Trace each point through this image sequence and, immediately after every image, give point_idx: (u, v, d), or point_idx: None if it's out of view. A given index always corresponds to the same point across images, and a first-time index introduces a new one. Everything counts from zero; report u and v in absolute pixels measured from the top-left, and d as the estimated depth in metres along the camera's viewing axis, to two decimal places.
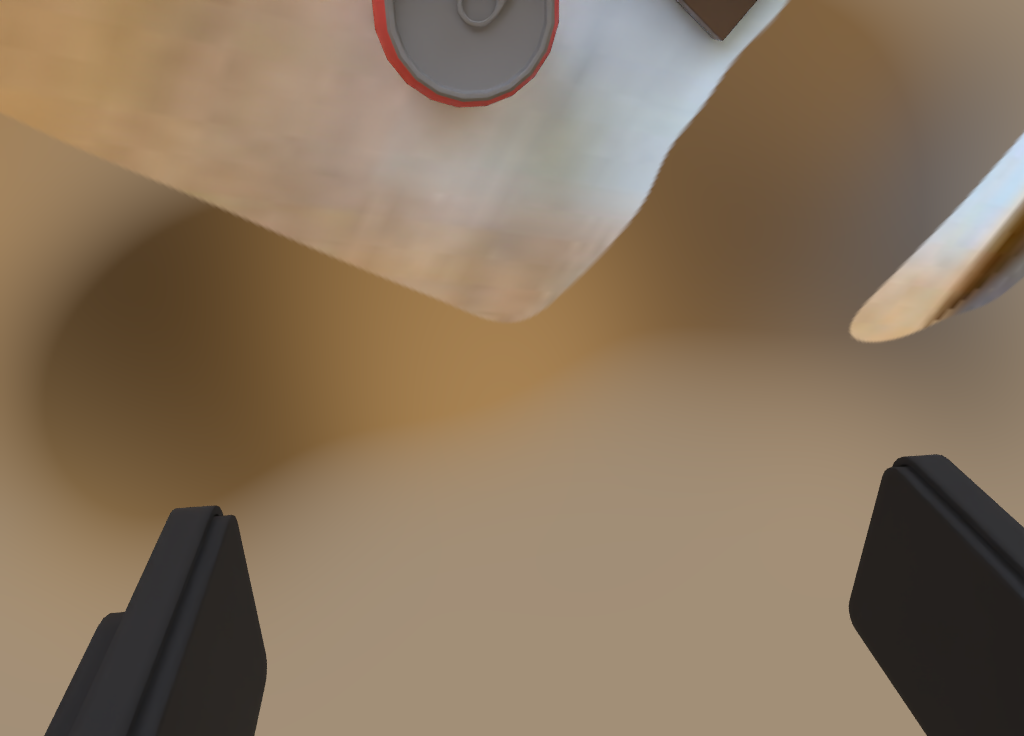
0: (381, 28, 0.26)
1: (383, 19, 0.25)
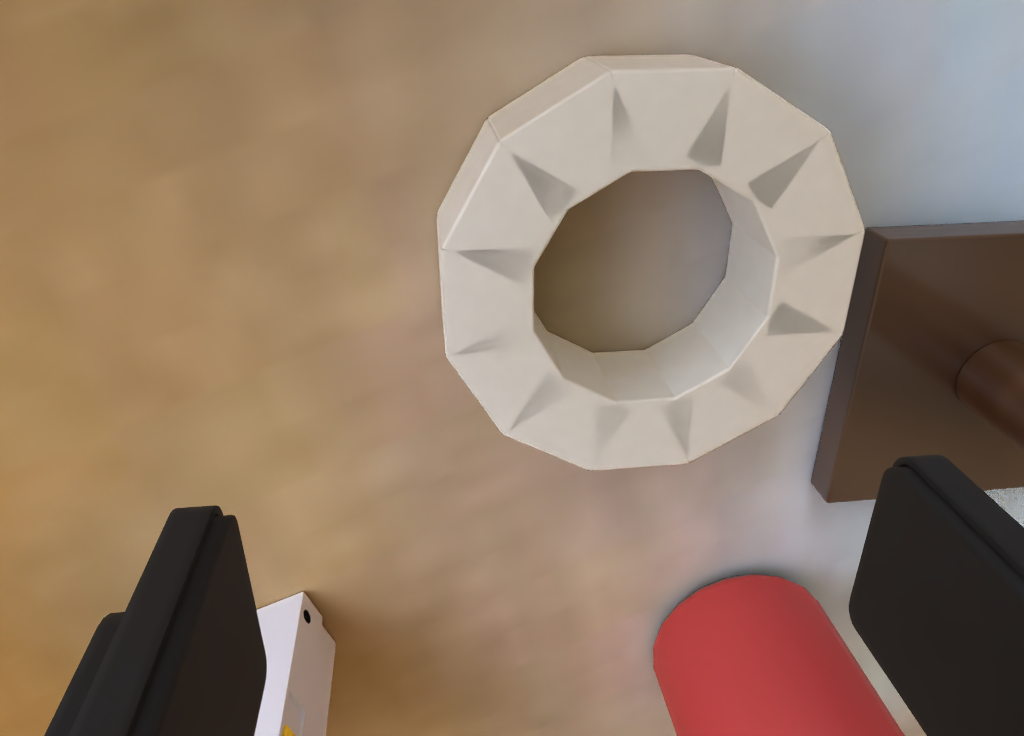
0: None
1: None
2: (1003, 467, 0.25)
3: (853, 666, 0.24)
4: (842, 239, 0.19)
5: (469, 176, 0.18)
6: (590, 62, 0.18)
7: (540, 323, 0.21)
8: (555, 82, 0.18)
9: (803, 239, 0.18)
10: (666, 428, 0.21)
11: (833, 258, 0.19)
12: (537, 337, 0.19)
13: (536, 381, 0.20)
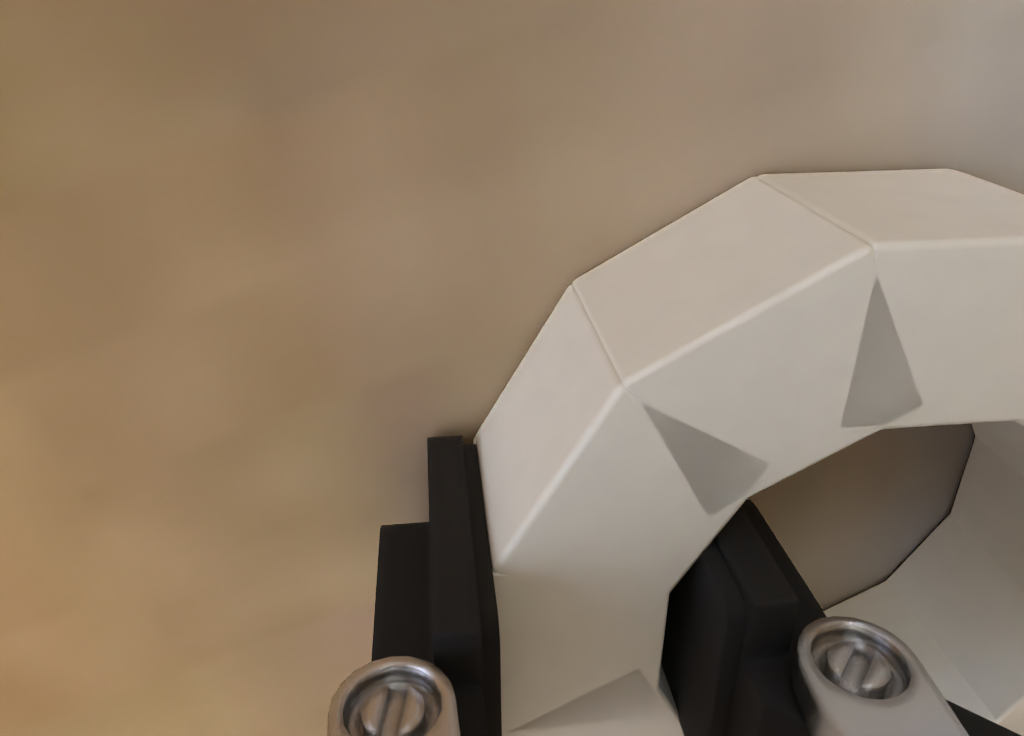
0: None
1: None
2: None
3: None
4: None
5: (544, 416, 0.09)
6: (786, 198, 0.09)
7: None
8: (711, 232, 0.09)
9: None
10: None
11: None
12: (664, 697, 0.10)
13: None
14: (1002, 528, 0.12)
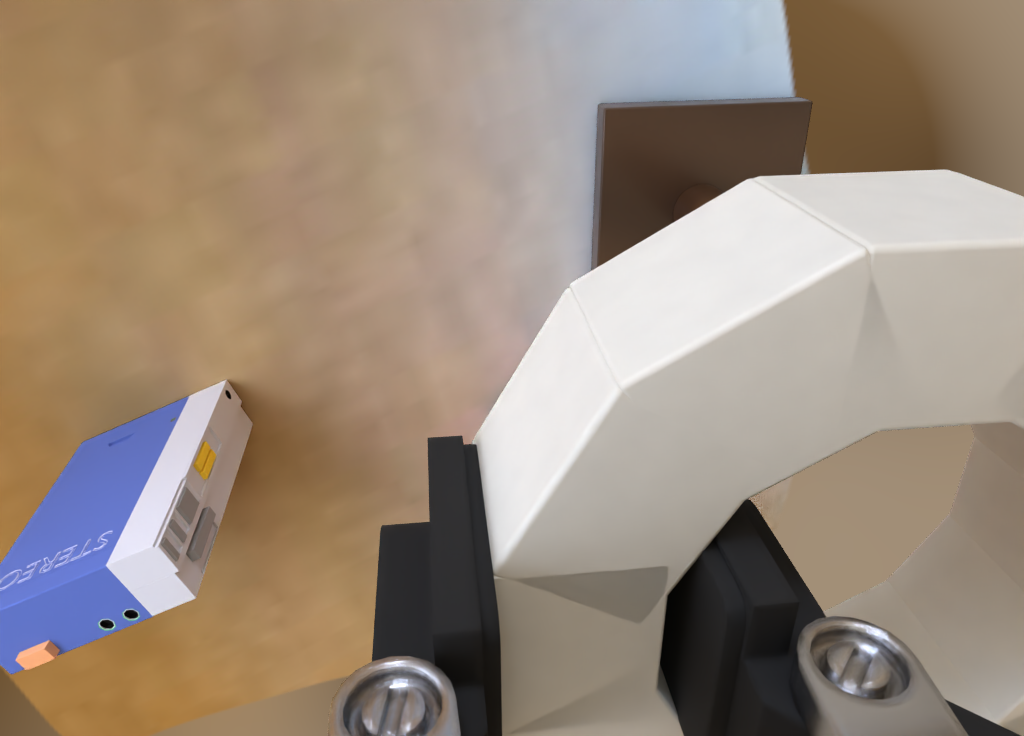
0: None
1: None
2: None
3: None
4: None
5: (542, 419, 0.09)
6: (783, 200, 0.09)
7: None
8: (709, 235, 0.09)
9: None
10: None
11: None
12: (663, 698, 0.10)
13: None
14: (1001, 528, 0.12)
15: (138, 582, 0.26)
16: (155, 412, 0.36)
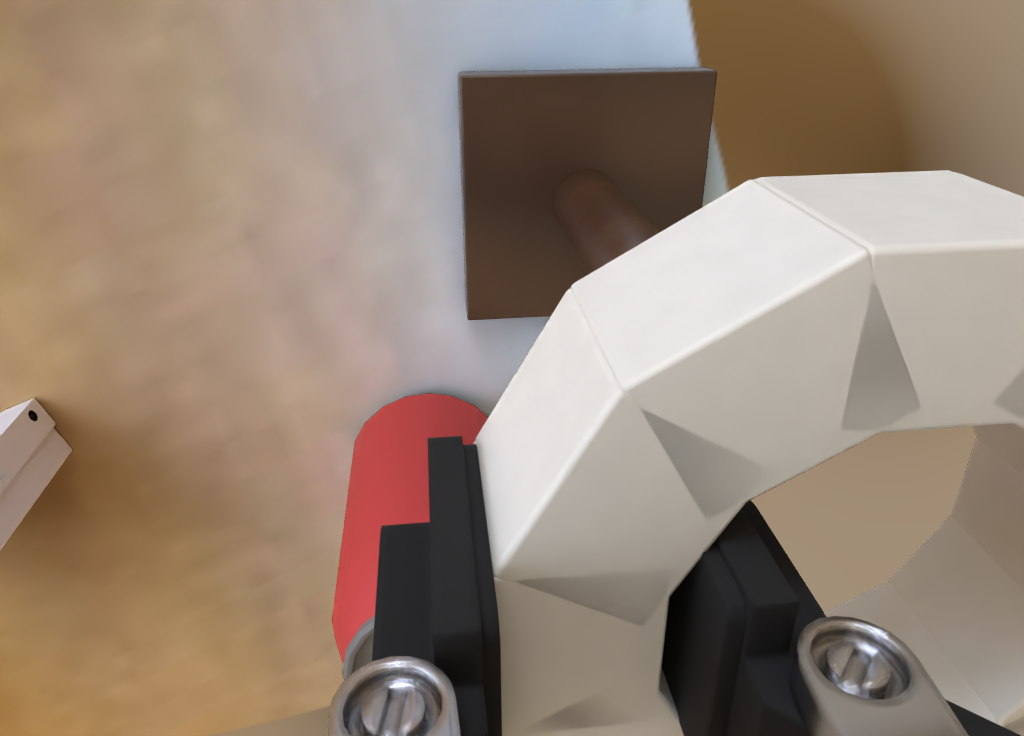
0: None
1: None
2: None
3: None
4: None
5: (544, 421, 0.09)
6: (784, 201, 0.09)
7: None
8: (710, 236, 0.09)
9: None
10: None
11: None
12: (664, 700, 0.10)
13: None
14: (1003, 529, 0.12)
15: None
16: None
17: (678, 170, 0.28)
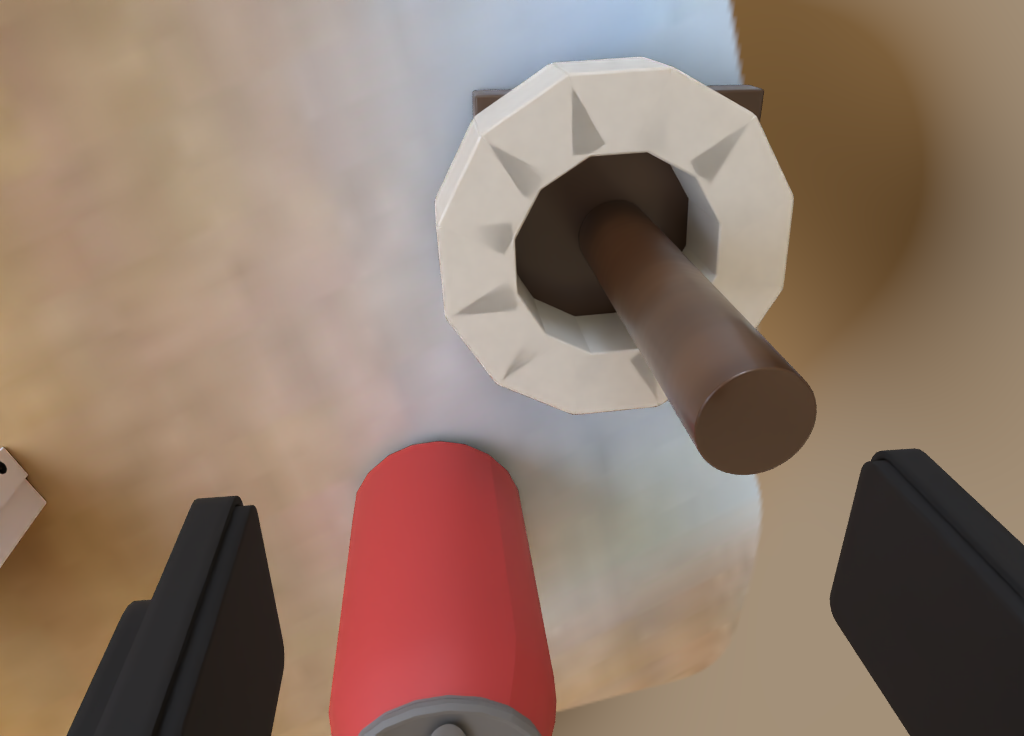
0: None
1: None
2: None
3: (496, 512, 0.26)
4: (774, 206, 0.22)
5: (458, 166, 0.22)
6: (555, 67, 0.21)
7: (527, 291, 0.25)
8: (527, 85, 0.22)
9: (741, 208, 0.22)
10: (636, 375, 0.24)
11: (768, 223, 0.22)
12: (521, 299, 0.23)
13: (522, 337, 0.23)
14: (697, 238, 0.24)
15: None
16: None
17: None
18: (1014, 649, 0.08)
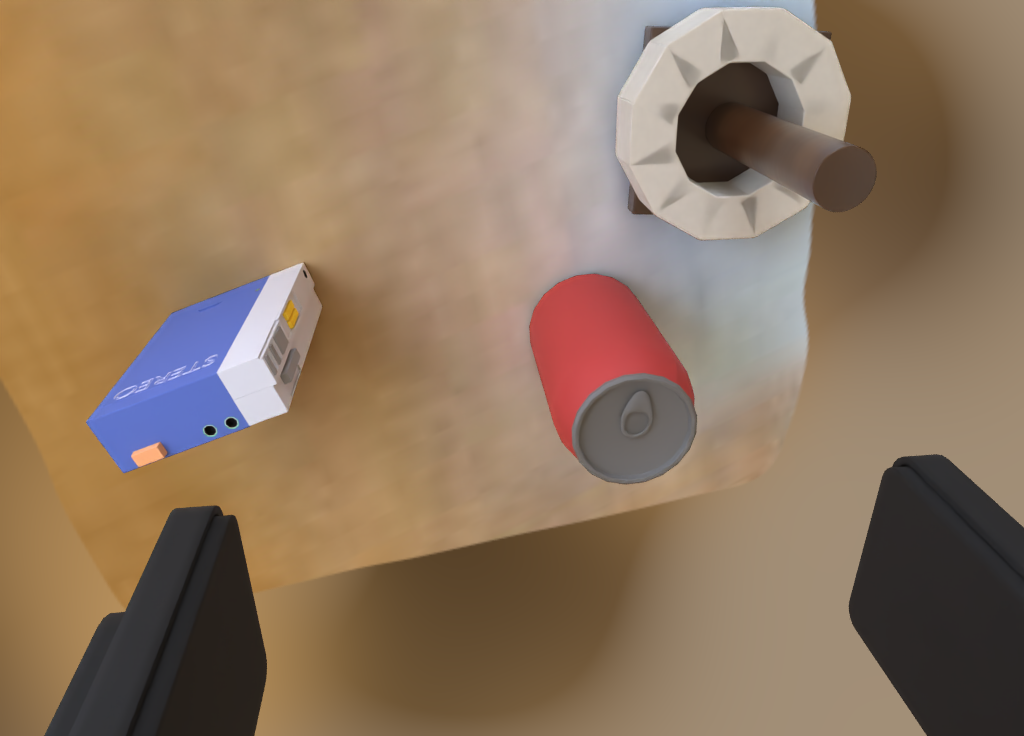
0: None
1: None
2: None
3: (642, 309, 0.39)
4: (839, 101, 0.35)
5: (644, 68, 0.35)
6: (707, 9, 0.35)
7: None
8: (688, 20, 0.35)
9: (818, 101, 0.35)
10: (743, 214, 0.37)
11: (834, 112, 0.36)
12: None
13: (674, 182, 0.36)
14: None
15: (241, 391, 0.31)
16: (239, 288, 0.40)
17: None
18: None
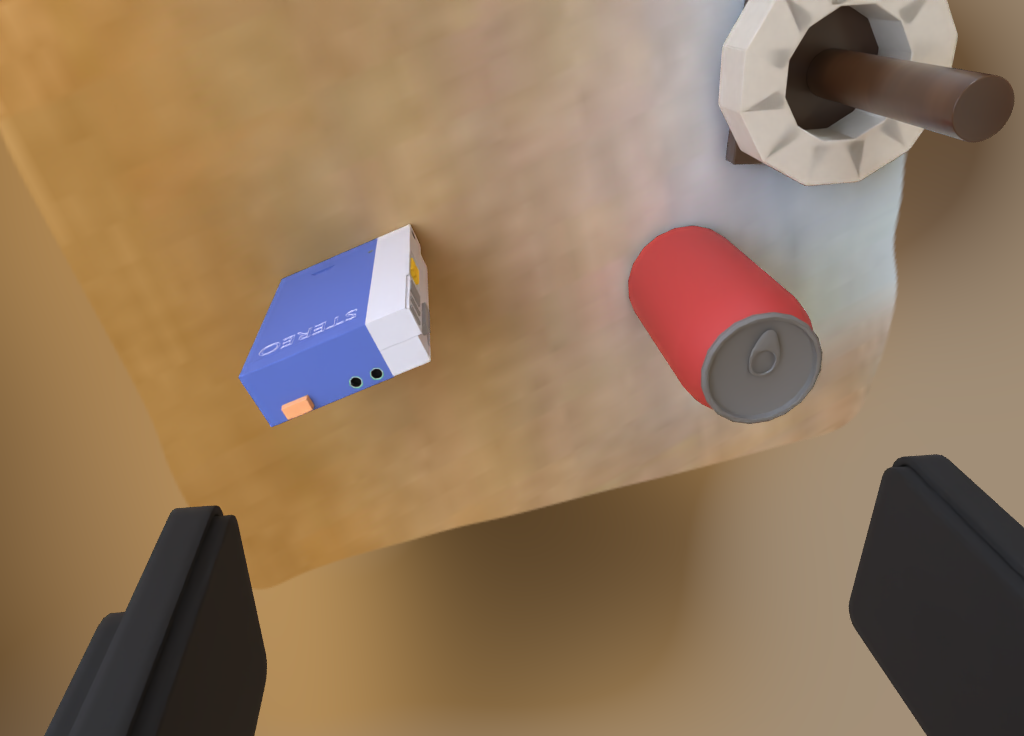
0: (705, 405, 0.36)
1: (706, 402, 0.35)
2: None
3: (747, 257, 0.40)
4: (946, 41, 0.36)
5: (754, 15, 0.36)
6: None
7: None
8: None
9: (926, 42, 0.36)
10: (848, 158, 0.38)
11: (941, 52, 0.36)
12: (786, 101, 0.36)
13: (783, 128, 0.37)
14: None
15: (387, 342, 0.32)
16: (348, 252, 0.41)
17: None
18: None
